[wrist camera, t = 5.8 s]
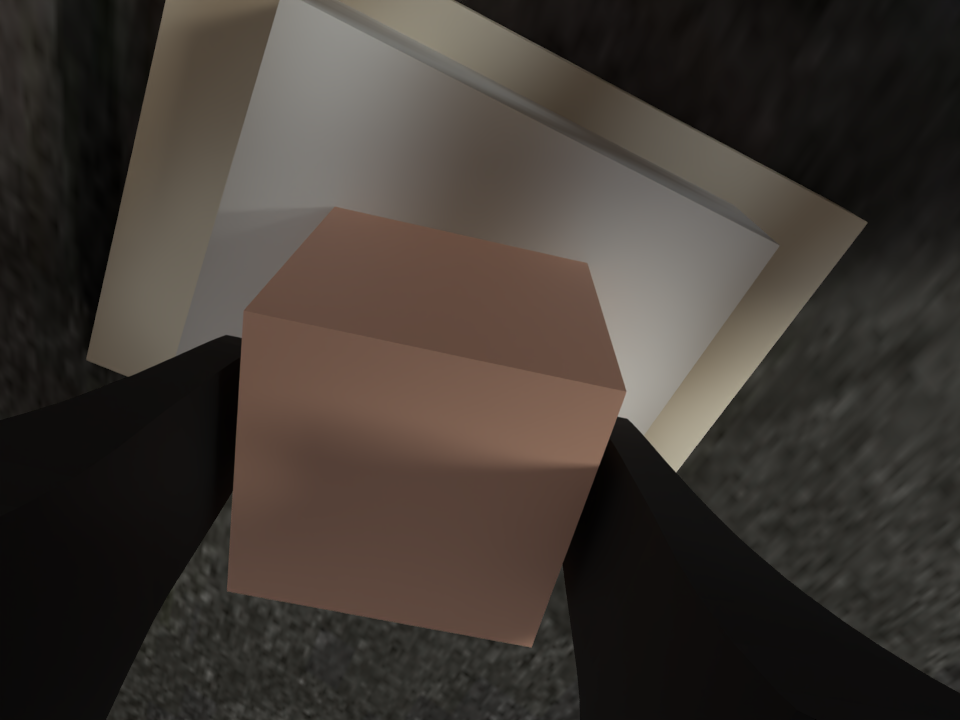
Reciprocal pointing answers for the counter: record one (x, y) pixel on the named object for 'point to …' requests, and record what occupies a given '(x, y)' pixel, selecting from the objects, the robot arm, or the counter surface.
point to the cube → (418, 427)
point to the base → (213, 131)
